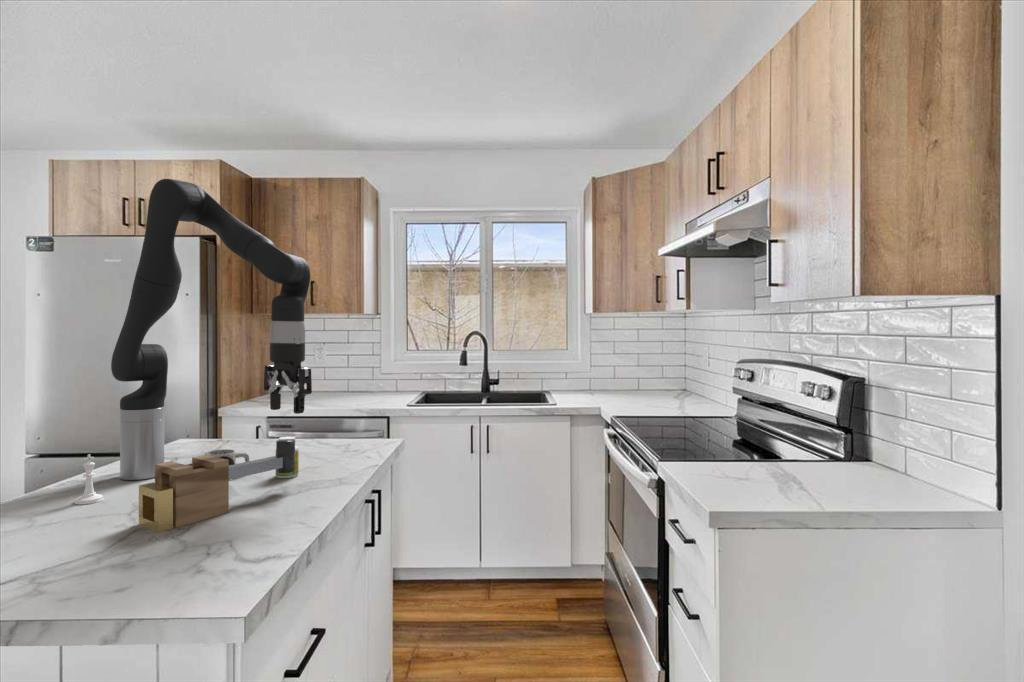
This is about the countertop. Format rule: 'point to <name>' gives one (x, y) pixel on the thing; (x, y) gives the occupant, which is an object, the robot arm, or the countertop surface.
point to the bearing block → (196, 488)
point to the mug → (228, 455)
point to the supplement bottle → (295, 473)
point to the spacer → (156, 506)
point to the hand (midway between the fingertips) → (286, 411)
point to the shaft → (268, 461)
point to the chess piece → (89, 485)
